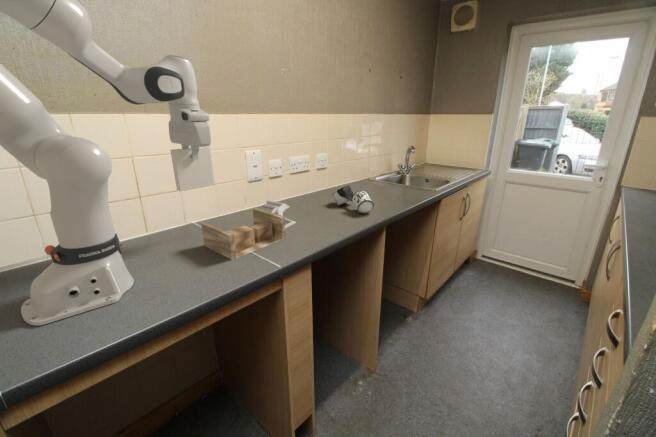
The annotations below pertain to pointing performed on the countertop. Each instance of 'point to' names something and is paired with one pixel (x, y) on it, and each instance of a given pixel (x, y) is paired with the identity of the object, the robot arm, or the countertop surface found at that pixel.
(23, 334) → the countertop surface
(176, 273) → the countertop surface
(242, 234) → the oak offcut
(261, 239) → the walnut offcut
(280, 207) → the molding
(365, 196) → the patterned dumbbell
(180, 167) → the white square panel
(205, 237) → the offcut rack
